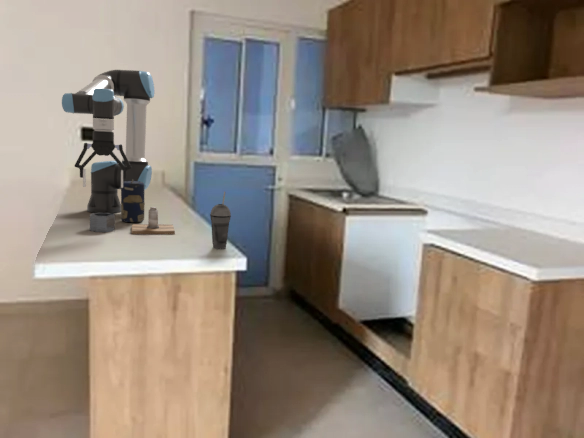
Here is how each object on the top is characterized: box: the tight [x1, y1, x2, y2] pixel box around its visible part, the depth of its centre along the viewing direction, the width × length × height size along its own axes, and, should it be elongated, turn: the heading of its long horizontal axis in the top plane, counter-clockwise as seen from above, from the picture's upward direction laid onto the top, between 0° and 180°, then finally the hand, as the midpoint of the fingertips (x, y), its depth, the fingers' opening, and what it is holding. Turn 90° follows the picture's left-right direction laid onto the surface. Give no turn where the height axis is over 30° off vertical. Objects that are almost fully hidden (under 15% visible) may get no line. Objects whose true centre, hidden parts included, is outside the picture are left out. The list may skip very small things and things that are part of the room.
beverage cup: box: [209, 191, 232, 250], centre depth 190 cm, size 7×7×20 cm
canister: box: [120, 179, 146, 223], centre depth 231 cm, size 10×10×18 cm
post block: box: [131, 206, 176, 235], centre depth 215 cm, size 14×16×9 cm
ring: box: [89, 212, 116, 233], centre depth 211 cm, size 9×9×6 cm
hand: (103, 187), depth 209 cm, fingers open, 13 cm apart
